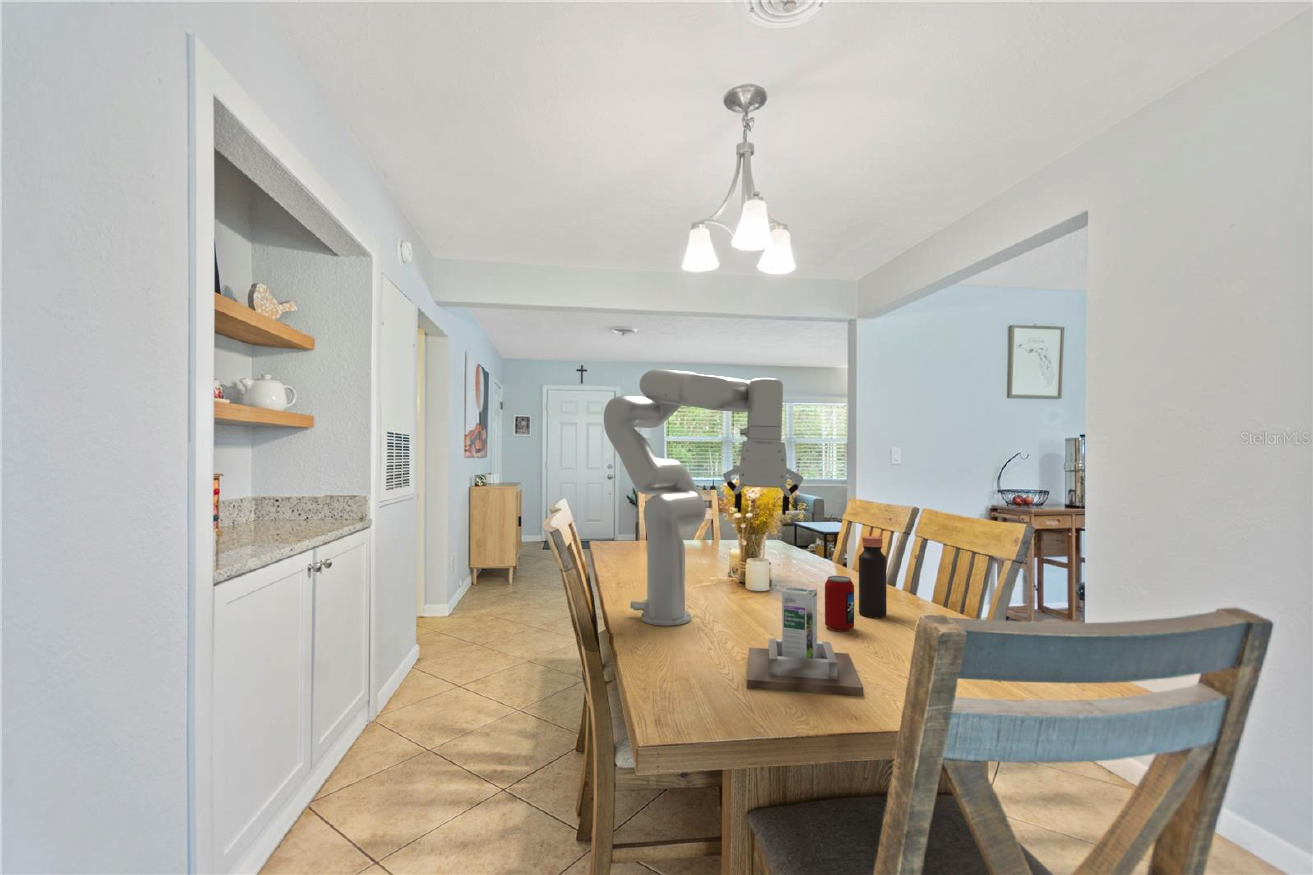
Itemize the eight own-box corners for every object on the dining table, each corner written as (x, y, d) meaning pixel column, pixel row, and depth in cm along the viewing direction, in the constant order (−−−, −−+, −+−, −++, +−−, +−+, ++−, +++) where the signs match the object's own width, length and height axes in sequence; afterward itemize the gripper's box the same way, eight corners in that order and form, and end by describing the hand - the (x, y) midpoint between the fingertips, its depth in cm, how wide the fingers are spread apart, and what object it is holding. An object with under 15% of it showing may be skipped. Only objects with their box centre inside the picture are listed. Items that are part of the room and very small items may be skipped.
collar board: (746, 688, 109) (746, 662, 109) (748, 654, 126) (748, 633, 127) (863, 696, 105) (863, 670, 105) (848, 660, 123) (848, 638, 123)
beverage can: (858, 632, 142) (857, 581, 142) (829, 632, 142) (828, 580, 143) (849, 624, 149) (849, 575, 149) (821, 624, 149) (821, 575, 149)
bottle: (889, 613, 159) (888, 536, 159) (883, 619, 153) (883, 540, 153) (862, 610, 162) (862, 534, 163) (855, 615, 157) (855, 537, 157)
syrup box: (781, 668, 115) (781, 590, 115) (788, 658, 120) (788, 584, 120) (812, 672, 112) (811, 593, 113) (817, 662, 118) (817, 587, 118)
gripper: (722, 433, 131) (720, 513, 131) (805, 436, 128) (802, 517, 128) (725, 433, 139) (723, 509, 139) (803, 436, 135) (801, 513, 135)
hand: (761, 513), depth 133 cm, fingers open, 9 cm apart
